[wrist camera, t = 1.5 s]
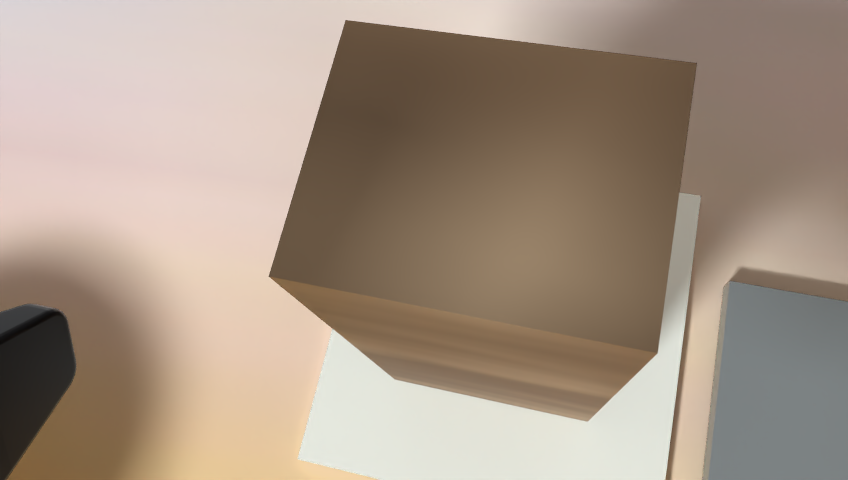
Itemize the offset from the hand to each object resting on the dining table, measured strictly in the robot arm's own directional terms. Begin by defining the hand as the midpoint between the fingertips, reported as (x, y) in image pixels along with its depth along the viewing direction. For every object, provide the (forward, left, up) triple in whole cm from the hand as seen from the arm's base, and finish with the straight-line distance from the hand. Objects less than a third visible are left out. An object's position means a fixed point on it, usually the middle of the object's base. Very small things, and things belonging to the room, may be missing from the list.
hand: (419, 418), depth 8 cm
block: (+2, -3, -11) cm, 11 cm away
